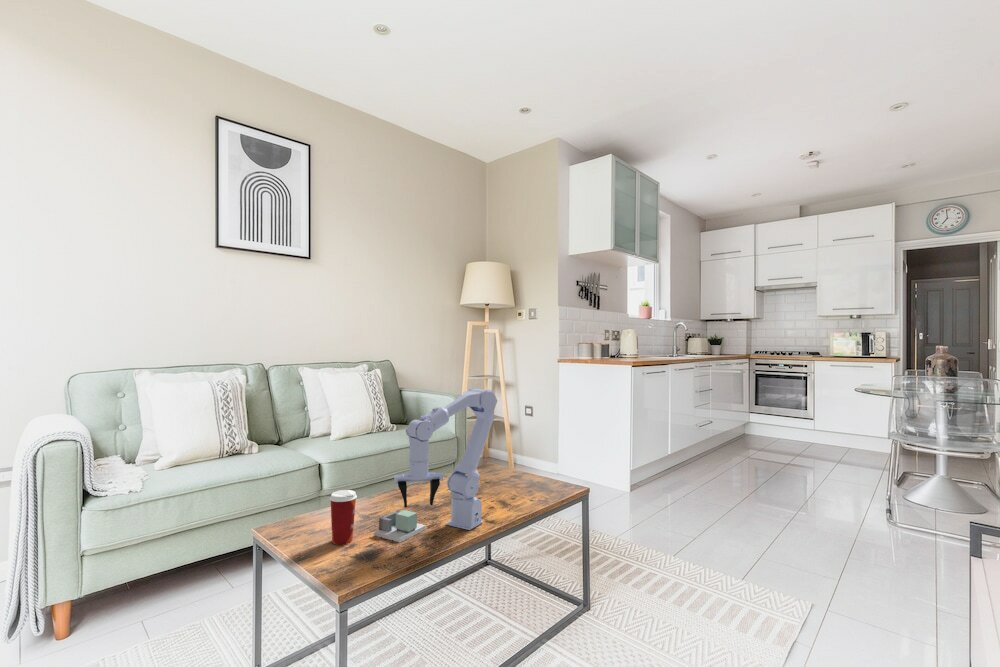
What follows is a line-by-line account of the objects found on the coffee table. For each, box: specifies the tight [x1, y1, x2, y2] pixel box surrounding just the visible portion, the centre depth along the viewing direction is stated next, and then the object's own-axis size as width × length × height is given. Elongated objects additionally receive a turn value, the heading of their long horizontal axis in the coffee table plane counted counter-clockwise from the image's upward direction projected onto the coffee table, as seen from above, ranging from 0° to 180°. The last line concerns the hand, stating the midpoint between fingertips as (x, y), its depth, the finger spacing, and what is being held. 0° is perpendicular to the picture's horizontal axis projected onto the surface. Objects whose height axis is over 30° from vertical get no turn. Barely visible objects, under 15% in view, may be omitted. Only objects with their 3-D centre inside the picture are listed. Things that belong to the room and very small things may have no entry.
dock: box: [374, 509, 427, 543], centre depth 147 cm, size 10×12×5 cm
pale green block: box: [396, 509, 418, 533], centre depth 146 cm, size 5×4×5 cm
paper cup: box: [329, 489, 358, 546], centre depth 140 cm, size 8×8×14 cm
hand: (418, 505), depth 144 cm, fingers open, 7 cm apart
